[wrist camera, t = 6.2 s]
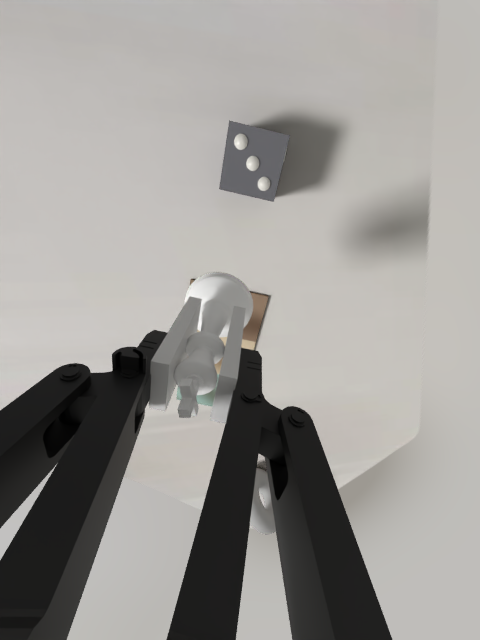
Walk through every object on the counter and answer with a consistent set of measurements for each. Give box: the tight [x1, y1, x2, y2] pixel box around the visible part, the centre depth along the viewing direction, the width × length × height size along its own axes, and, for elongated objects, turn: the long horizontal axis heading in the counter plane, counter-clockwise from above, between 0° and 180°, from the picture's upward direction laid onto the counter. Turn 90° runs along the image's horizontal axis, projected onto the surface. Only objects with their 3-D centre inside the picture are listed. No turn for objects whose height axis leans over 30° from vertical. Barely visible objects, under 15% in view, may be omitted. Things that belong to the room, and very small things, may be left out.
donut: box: [250, 468, 276, 535], centre depth 46 cm, size 10×4×10 cm, turn 43°
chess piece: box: [174, 272, 253, 418], centre depth 15 cm, size 5×5×10 cm
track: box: [177, 279, 268, 406], centre depth 38 cm, size 21×10×1 cm, turn 168°
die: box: [219, 121, 290, 202], centre depth 24 cm, size 5×5×5 cm
